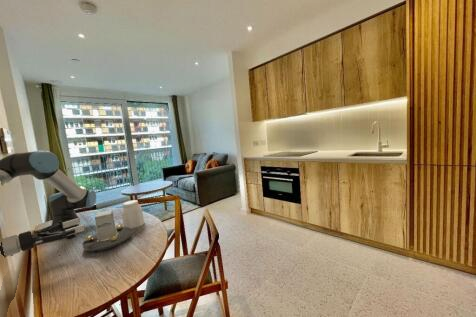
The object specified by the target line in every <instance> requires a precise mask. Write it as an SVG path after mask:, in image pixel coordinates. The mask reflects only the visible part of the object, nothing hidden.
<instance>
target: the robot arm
mask: <svg viewBox="0 0 476 317" xmlns="http://www.w3.org/2000/svg"><path fill="white" fill-rule="evenodd" d="M29 175H31V176H33V178H35V179H36V180H41V181H43V180H44V181H45V182H46V183H48V184H49V185H50V186H52V187H53V188H54V189H56V190H57V191H59V192H57V193H54V194H51V195H49V197H48V201H49V202H48V203H49V206H50V210H51V215H52V221H51V225H48V226H46V227H43V228H40V229H38V230H35V231H34V233H32V231H30V230H28V231H24V232H21V233H19V234H18V235H17V234H14V235H10V236H6V237H4V238H1V239H2V242H1V246H0V251H1V254H2V255H3V256H4V258H7V257H13V256H14V255H16V254H18V253H19V254H20V253H21V252H25V251H29V250H31V249H34V247H35V246H39V245H43V244H48V243H51V242H52V243H53V242H56V241H57V242H58V241H61V240H62V241H63V240H67V236H69V235H72V234H75V233H78V232H79V233H80V232H83V231H85V227H84V226H85V225H84V224H81V225H80V223H81V220H80V218H79V216H78V215H77V212H76V211H75V210H79V209H89V208H93V207H94V205H95V204H96V203H97V202H96V201H97V193H96V191H95V190H94V189H87V188H86V187H84V186H81V185H78V184H77V183H76V182H75V181H73V180H72V179H71V178H70V177H69V176H68V175H67V174H65V173H64V172H63V171H62V170H61V169H60V161H59V157H58V156H57V155H56V154H55V153H53V152H51V151H49V150H36V151H35V150H34V151H29V152H28V151H26V152H17V153H12V154H9V155H7V156H5V157H3V158H1V159H0V181H1V185H2V187H3V186H4V185H5V184H7V183H10V182H11V181H12V180H13V179H15V178H17V177H21V176H29ZM71 213H72V214H73V216H72V217H73V220H70V221H67V222H63V223H62V221H61V220H62V219H61V216H62V215H65V214H71ZM76 224H79V226H77V227H74V228H70V229H67V230H65V231H66V232H65V231H62V232H60V231H61V229H63V228H66V227H69V226H73V225H76ZM79 233H78V234H79ZM75 235H76V234H75ZM2 245H3V247H2ZM3 250H4V251H3ZM4 253H5V255H4Z"/></svg>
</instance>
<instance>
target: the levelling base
mask: <svg viewBox="0 0 476 317" xmlns="http://www.w3.org/2000/svg"><path fill="white" fill-rule="evenodd" d="M115 227H116V234H115V235H114V236H111V237H110V238H106V239H102V240H99V238H98V233H97V232H96V233H95V234H92V235H91V234H90V235H87V236H85V240H84V241H83V242H82V248H83V251H84V252H85V251H86V252H87V253H88V252H89V253H98V252H101V251H105V250H108V249H112V248H114V247H117V246H119V245H121V244H123V243H124V242H126V241H127V240H129V239H130V238H131V236H132V234H133V232H132V229H130V228H128V227H124V225H123V223H121V224H118V225H115Z"/></svg>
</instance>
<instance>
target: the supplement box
mask: <svg viewBox="0 0 476 317" xmlns="http://www.w3.org/2000/svg"><path fill="white" fill-rule="evenodd" d="M94 222H95V228H96V234H97V233H98V238H99V240H102V239H106V238H110V237H111V236H114V235H115V234H116V221H115V216H114V210H113V209H110V210H105V211H101V212H100V211H99V212H96V215H95V216H94Z"/></svg>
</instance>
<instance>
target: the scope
mask: <svg viewBox="0 0 476 317" xmlns="http://www.w3.org/2000/svg"><path fill="white" fill-rule="evenodd" d="M72 216H73V214H72V213H71V214H65V215H62V216H61V219H62V220H61V221H62V223H63V222H67V221H70V220H73V217H72ZM77 226H80V223H79V224H76V225H73V226H69V227H66V228H63V229H61V230H59V232H62V231H65V230H67V229H70V228H74V227H77ZM65 232H66V231H65ZM79 233H80V232H78V233H75V234H72V235H69V236H67V238H66V240H73V239H75V238H76V235H78V234H79Z"/></svg>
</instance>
